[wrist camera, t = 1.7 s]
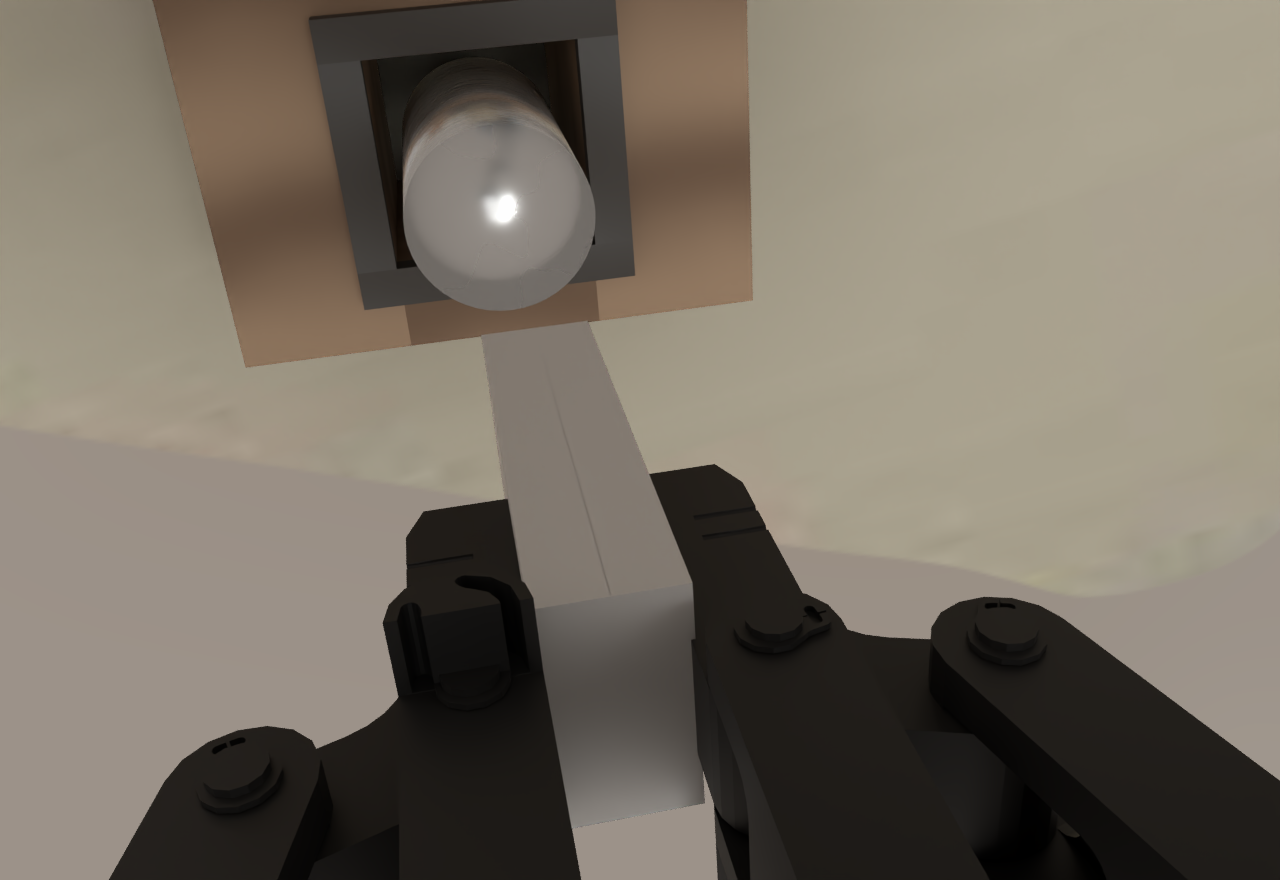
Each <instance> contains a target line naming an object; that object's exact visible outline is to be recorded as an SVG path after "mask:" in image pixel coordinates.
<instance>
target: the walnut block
mask: <svg viewBox="0 0 1280 880" xmlns="http://www.w3.org/2000/svg"><path fill="white" fill-rule="evenodd" d="M153 3H154V7H155V11H156V15H157V19H158V23H159V27H160V31H161V35H162V38H163V42H164V46H165V50H166V54H167V58H168V62H169V66H170V70H171V74H172V78H173V82H174V86H175V90H176V94H177V98H178V102H179V106H180V110H181V114H182V117H183V121H184V125H185V129H186V133H187V137H188V141H189V145H190V149H191V153H192V157H193V161H194V165H195V169H196V173H197V177H198V181H199V185H200V189H201V193H202V196H203V200H204V204H205V208H206V212H207V216H208V220H209V224H210V228H211V232H212V236H213V240H214V244H215V248H216V252H217V256H218V260H219V264H220V268H221V272H222V275H223V279H224V283H225V287H226V291H227V295H228V299H229V303H230V307H231V311H232V315H233V319H234V323H235V327H236V331H237V335H238V339H239V343H240V347H241V351H242V354H243V358H244V362H245V366H246V367H253V366H260V365H268V364H275V363H283V362H291V361H298V360H306V359H313V358H321V357H328V356H336V355H343V354H351V353H358V352H366V351H373V350H381V349H389V348H396V347H404V346H411V345H419V344H426V343H434V342H441V341H449V340H456V339H464V338H472V337H479V336H481V335H485V334H493V333H500V332H508V331H515V330H523V329H530V328H538V327H545V326H553V325H560V324H568V323H575V322H583V321H588V322H592V321H600V320H607V319H615V318H622V317H630V316H638V315H645V314H653V313H660V312H668V311H675V310H683V309H690V308H698V307H705V306H713V305H721V304H728V303H736V302H743V301H751V300H753V291H752V242H751V192H750V143H749V93H748V43H747V0H153ZM542 42H544V44H545V54H546V63H547V73H548V83H549V93H550V103H551V113H552V115H553V117H554V119H555V121H556V123H557V125H558V126H559V128H560V130H561V132H562V134H563V136H564V137H565V139H566V141H567V143H568V145H569V147H570V148H571V150H572V152H573V154H574V156H575V158H576V159H577V161H578V163H579V165H580V167H581V168H582V170H583V172H584V174H585V176H586V178H587V181H588V183H589V185H590V188H591V191H592V195H593V198H594V205H595V231H594V236H593V240H592V244H591V247H590V250H589V252H588V255H587V257H586V259H585V261H584V262H583V264H582V266H581V268H580V269H579V270H578V272H577V273H576V274H575V276H574V277H573V278H572V279H571V280H570V281H569V282H568V283H567V284H566V285H565V286H564V287H563V288H562V289H560V290H559V291H558V292H557V293H555V294H554V295H552V296H550V297H549V298H547V299H545V300H543V301H541V302H539V303H537V304H534V305H531V306H528V307H525V308H520V309H515V310H505V311H494V310H484V309H479V308H474V307H471V306H468V305H465V304H462V303H460V302H458V301H456V300H454V299H452V298H450V297H449V296H447V295H445V294H444V293H442V292H441V291H440V290H439V289H437V288H436V287H435V286H434V285H433V284H432V283H431V282H430V281H429V280H428V279H427V278H426V277H425V276H424V274H423V273H422V272H421V270H420V269H419V268H418V266H417V264H416V263H415V261H414V259H413V257H412V255H411V252H410V250H409V247H408V245H407V241H406V237H405V232H404V222H403V181H397V177H396V171H395V166H394V160H393V154H392V148H391V142H390V136H389V130H388V124H387V118H386V112H385V107H384V101H383V95H382V89H381V83H380V77H379V71H378V65H377V59H382V58H392V57H402V56H412V55H422V54H432V53H442V52H452V51H462V50H472V49H482V48H492V47H502V46H512V45H522V44H532V43H542Z"/></svg>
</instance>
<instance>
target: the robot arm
mask: <svg viewBox="0 0 1280 880" xmlns="http://www.w3.org/2000/svg"><path fill="white" fill-rule="evenodd" d="M481 337H482V344H483V351H484V358H485V365H486V372H487V379H488V386H489V393H490V400H491V407H492V414H493V421H494V428H495V435H496V442H497V449H498V456H499V463H500V470H501V477H502V484H503V491H504V498H505V499H503V500H496V501H490V502H483V503H477V504H470V505H463V506H457V507H450V508H444V509H438V510H431V511H425V512H423V513H422V515H421V516H420V518H419V519H418V521H417V522H416V524H415V525H414V527H413V528H412V530H411V531H410V533H409V534H408V536H407V537H406V559H407V560H406V562H407V563H406V564H407V588H406V589H404V590H403V591H402V592H401V593H400V594H399V595H398V596H397V597H396V598H395V599H394V600H393V601H392V602H391V603H390V604H389V606H388V609H387V612H386V615H385V618H384V621H383V626H384V631H385V636H386V640H387V645H388V650H389V655H390V659H391V664H392V668H393V673H394V678H395V683H396V687H397V692H398V696H399V697H398V699H397V700H396V701H395V702H394V704H393V705H392V706H391V707H390V708H389V709H388V710H387V711H386V712H385V713H384V714H383V715H382V716H380V717H379V718H378V719H376V720H375V721H373V722H372V723H371V724H369V725H368V726H366V727H364V728H362V729H360V730H358V731H356V732H354V733H352V734H351V735H349V736H346V737H344V738H342V739H339V740H337V741H334V742H332V743H330V744H327V745H325V746H322V747H320V748H317V749H316V748H315V746H314V744H313V742H312V740H310V739H308V738H307V737H305V736H303V735H302V734H300V733H298V732H296V731H295V730H293V729H285V728H277V727H270V726H265V727H258V728H251V729H244V730H238V731H235V732H233V733H230V734H227V735H225V736H223V737H220V738H218V739H215V740H212V741H210V742H208V743H206V744H205V745H203V746H202V747H200V748H199V749H198V750H196V751H195V752H193V753H192V754H191V755H189V756H187V757H186V758H185V759H183V760H182V761H181V762H180V763H179V765H178V766H177V767H176V768H175V770H174V771H173V772H172V773H171V774H170V776H169V777H168V778H167V779H166V780H165V782H164V783H163V785H162V787H161V789H160V790H159V792H158V794H157V796H156V798H155V799H154V801H153V803H152V805H151V807H150V808H149V810H148V812H147V813H146V815H145V817H144V819H143V821H142V822H141V824H140V826H139V827H138V829H137V831H136V833H135V835H134V836H133V838H132V840H131V842H130V843H129V845H128V847H127V849H126V850H125V852H124V854H123V856H122V858H121V859H120V861H119V863H118V865H117V866H116V868H115V870H114V872H113V873H112V875H111V877H110V879H109V880H581V876H580V871H579V865H578V860H577V855H576V849H575V843H574V838H573V833H572V829H573V828H578V827H583V826H588V825H593V824H599V823H603V822H609V821H614V820H620V819H625V818H630V817H635V816H640V815H646V814H651V813H656V812H661V811H666V810H672V809H677V808H682V807H687V806H692V805H698V804H703V803H705V799H704V781H703V772H704V774H705V777H706V780H707V784H708V787H709V790H710V793H711V796H712V799H713V802H714V812H715V833H716V850H717V851H716V853H717V872H718V880H1280V781H1279V780H1278V779H1277V778H1275V777H1274V776H1273V775H1271V774H1270V773H1269V772H1267V771H1266V770H1265V769H1263V768H1262V767H1261V766H1259V765H1258V764H1257V763H1255V762H1254V761H1253V760H1251V759H1250V758H1249V757H1247V756H1246V755H1245V754H1243V753H1242V752H1241V751H1239V750H1238V749H1237V748H1235V747H1234V746H1233V745H1231V744H1230V743H1229V742H1227V741H1226V740H1225V739H1223V738H1222V737H1221V736H1219V735H1218V734H1217V733H1215V732H1214V731H1212V730H1211V729H1210V728H1209V727H1207V726H1206V725H1204V724H1203V723H1202V722H1201V721H1199V720H1198V719H1196V718H1195V717H1194V716H1193V715H1191V714H1190V713H1188V712H1187V711H1186V710H1184V709H1183V708H1182V707H1181V706H1179V705H1178V704H1177V703H1175V702H1174V701H1172V700H1171V699H1170V698H1169V697H1167V696H1166V695H1165V694H1163V693H1162V692H1160V691H1159V690H1158V689H1157V688H1155V687H1154V686H1153V685H1151V684H1150V683H1149V682H1147V681H1146V680H1144V679H1143V678H1142V677H1141V676H1139V675H1138V674H1137V673H1135V672H1134V671H1133V670H1131V669H1130V668H1128V667H1127V666H1126V665H1124V664H1123V663H1122V662H1120V661H1119V660H1118V659H1116V658H1115V657H1114V656H1112V655H1111V654H1110V653H1108V652H1107V651H1106V650H1104V649H1103V648H1102V647H1100V646H1099V645H1098V644H1096V643H1095V642H1094V641H1092V640H1091V639H1090V638H1088V637H1087V636H1086V635H1084V634H1083V633H1082V632H1080V631H1079V630H1078V629H1076V628H1075V627H1074V626H1072V625H1071V624H1070V623H1068V622H1067V621H1066V620H1064V619H1063V618H1061V617H1060V616H1057V615H1056V614H1054V613H1052V612H1050V611H1049V610H1047V609H1045V608H1043V607H1041V606H1039V605H1036V604H1032V603H1028V602H1025V601H1021V600H1017V599H1013V598H997V597H981V598H976V599H972V600H967V601H962V602H958V603H957V604H955V605H953V606H951V607H950V608H948V609H946V610H945V611H943V612H941V613H940V615H939V616H938V618H937V620H936V621H935V623H934V624H933V626H932V628H931V639H910V638H888V637H880V636H872V635H865V634H861V633H858V632H854V631H850V630H847V628H846V626H845V625H844V623H843V621H842V619H841V618H840V617H839V616H838V615H837V614H836V613H835V612H834V611H833V610H832V609H831V607H830V606H829V605H828V604H825V603H824V602H822V601H820V600H818V599H815V598H813V597H811V596H809V595H807V594H803V593H802V591H801V590H800V588H799V586H798V584H797V582H796V580H795V578H794V577H793V575H792V573H791V571H790V569H789V568H788V566H787V564H786V562H785V560H784V558H783V556H782V554H781V553H780V551H779V549H778V547H777V545H776V543H775V541H774V540H773V538H772V536H771V534H770V532H769V530H766V525H765V523H764V521H763V519H762V517H761V516H760V514H759V512H758V510H757V511H756V508H755V505H754V503H753V501H752V499H751V497H750V495H749V493H748V492H747V490H746V488H745V486H744V484H743V482H741V481H740V480H738V479H737V478H735V477H734V476H732V475H731V474H729V473H727V472H726V471H724V470H723V469H721V468H720V467H718V466H717V465H715V464H713V465H706V466H699V467H693V468H686V469H680V470H673V471H667V472H660V473H653V474H649V473H648V470H647V468H646V465H645V463H644V460H643V458H642V455H641V453H640V450H639V448H638V445H637V443H636V440H635V438H634V435H633V433H632V430H631V428H630V425H629V423H628V420H627V418H626V415H625V413H624V410H623V408H622V405H621V403H620V400H619V398H618V395H617V393H616V390H615V388H614V385H613V383H612V380H611V378H610V375H609V373H608V370H607V368H606V365H605V363H604V360H603V358H602V355H601V353H600V350H599V348H598V345H597V343H596V340H595V338H594V335H593V333H592V330H591V328H590V325H589V323H588V321H583V322H575V323H568V324H560V325H553V326H545V327H538V328H530V329H523V330H515V331H508V332H500V333H493V334H485V335H481Z"/></svg>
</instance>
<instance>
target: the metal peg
mask: <svg viewBox="0 0 1280 880" xmlns="http://www.w3.org/2000/svg"><path fill="white" fill-rule="evenodd" d="M402 147H403V222H404V232H405V237H406V241H407V245H408V247H409V250H410V252H411V255H412V257H413V259H414V261H415V263H416V264H417V266H418V268H419V269H420V270H421V272H422V273H423V274H424V276H425V277H426V278H427V279H428V280H429V281H430V282H431V283H432V284H433V285H434V286H435V287H436V288H437V289H439V290H440V291H441V292H442V293H444V294H445V295H447V296H449V297H450V298H452V299H454V300H456V301H458V302H460V303H462V304H465V305H468V306H471V307H474V308H479V309H484V310H494V311H505V310H515V309H520V308H525V307H528V306H531V305H534V304H537V303H539V302H541V301H543V300H545V299H547V298H549V297H550V296H552V295H554V294H555V293H557V292H558V291H559V290H560V289H562V288H563V287H564V286H565V285H566V284H567V283H568V282H569V281H570V280H571V279H572V278H573V277H574V276H575V274H576V273H577V272H578V270H579V269H580V268H581V266H582V264H583V262H584V261H585V259H586V257H587V255H588V252H589V250H590V247H591V244H592V240H593V236H594V231H595V205H594V198H593V195H592V191H591V188H590V185H589V183H588V181H587V178H586V176H585V174H584V172H583V170H582V168H581V167H580V165H579V163H578V161H577V159H576V158H575V156H574V154H573V152H572V150H571V148H570V147H569V145H568V143H567V141H566V139H565V137H564V136H563V134H562V132H561V130H560V128H559V126H558V125H557V123H556V121H555V119H554V117H553V115H552V114H551V112H550V110H549V108H548V106H547V104H546V103H545V101H544V99H543V97H542V96H541V94H540V92H539V91H538V89H537V88H536V87H535V85H534V84H533V83H532V82H531V81H530V80H529V79H528V78H527V77H526V76H525V75H524V74H522V73H521V72H520V71H518V70H517V69H515V68H514V67H512V66H510V65H508V64H506V63H503V62H501V61H498V60H494V59H490V58H483V57H467V58H461V59H456V60H453V61H450V62H447V63H445V64H443V65H441V66H439V67H437V68H436V69H434V70H433V71H431V72H430V73H429V74H428V75H427V76H426V77H424V78H423V79H422V81H421V82H420V83H419V84H418V85H417V87H416V88H415V90H414V91H413V93H412V94H411V96H410V99H409V101H408V103H407V106H406V109H405V112H404V118H403V128H402Z"/></svg>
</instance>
